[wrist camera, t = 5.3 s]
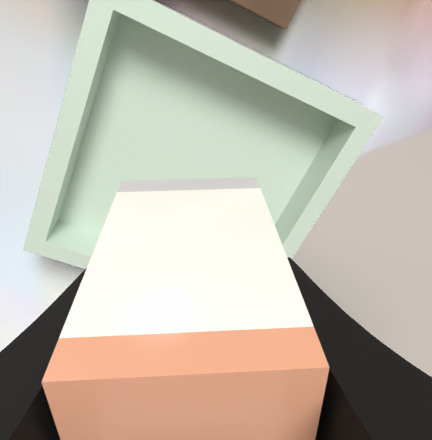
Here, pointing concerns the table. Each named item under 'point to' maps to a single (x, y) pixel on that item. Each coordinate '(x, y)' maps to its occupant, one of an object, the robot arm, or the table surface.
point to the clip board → (271, 9)
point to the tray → (186, 126)
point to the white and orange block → (188, 324)
